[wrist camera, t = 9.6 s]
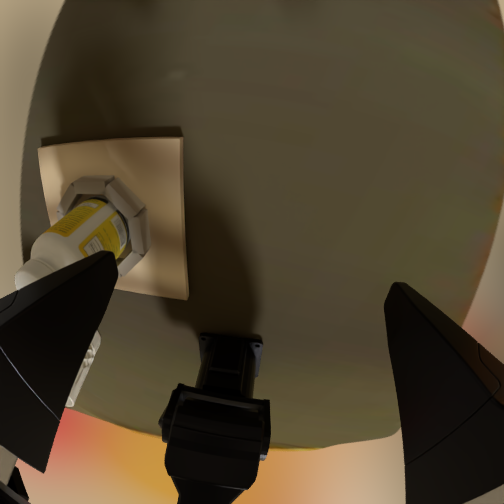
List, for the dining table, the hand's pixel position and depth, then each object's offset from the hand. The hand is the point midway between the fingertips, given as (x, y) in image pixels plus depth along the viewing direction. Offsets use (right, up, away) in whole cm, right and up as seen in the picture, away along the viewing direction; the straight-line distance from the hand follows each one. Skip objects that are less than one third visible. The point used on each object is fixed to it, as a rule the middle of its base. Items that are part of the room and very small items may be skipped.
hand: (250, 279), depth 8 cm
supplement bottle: (-12, +3, +13) cm, 18 cm away
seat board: (-12, +4, +14) cm, 19 cm away
